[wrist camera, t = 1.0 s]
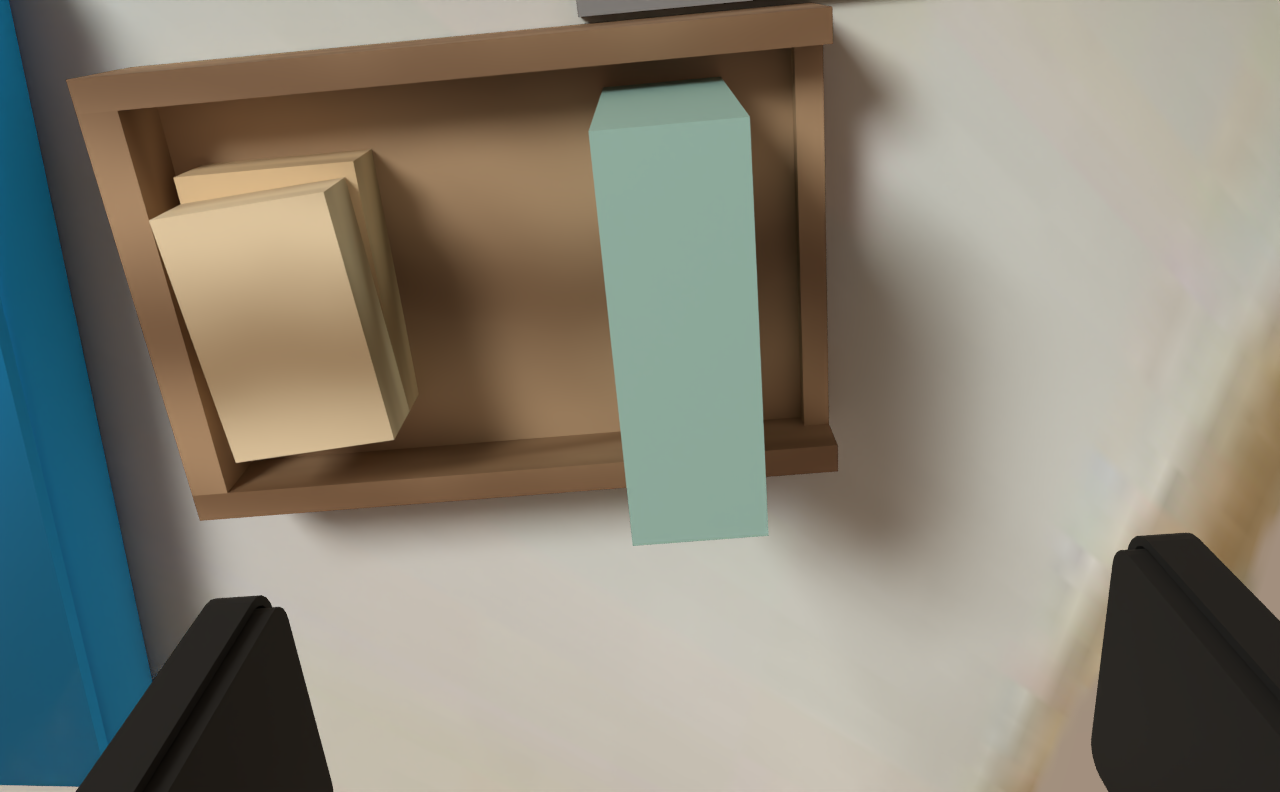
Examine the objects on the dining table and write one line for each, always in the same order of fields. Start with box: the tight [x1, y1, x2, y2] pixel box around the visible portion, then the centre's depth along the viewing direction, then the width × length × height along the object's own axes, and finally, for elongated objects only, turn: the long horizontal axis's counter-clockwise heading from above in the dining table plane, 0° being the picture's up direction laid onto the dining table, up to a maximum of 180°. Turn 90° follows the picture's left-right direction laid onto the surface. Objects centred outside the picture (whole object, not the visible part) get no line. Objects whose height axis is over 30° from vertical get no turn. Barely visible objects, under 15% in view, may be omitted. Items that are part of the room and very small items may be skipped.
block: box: [588, 77, 768, 546], centre depth 24 cm, size 9×3×8 cm, turn 5°
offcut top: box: [149, 177, 409, 463], centre depth 25 cm, size 6×4×2 cm, turn 9°
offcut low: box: [174, 149, 419, 414], centre depth 27 cm, size 7×4×2 cm, turn 5°
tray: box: [66, 3, 838, 521], centre depth 27 cm, size 12×18×3 cm, turn 95°
